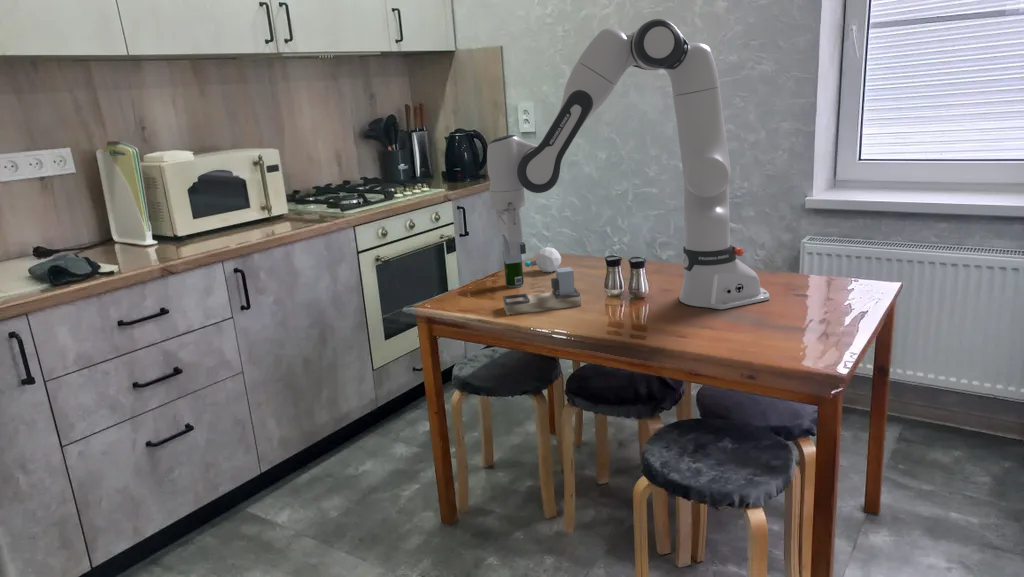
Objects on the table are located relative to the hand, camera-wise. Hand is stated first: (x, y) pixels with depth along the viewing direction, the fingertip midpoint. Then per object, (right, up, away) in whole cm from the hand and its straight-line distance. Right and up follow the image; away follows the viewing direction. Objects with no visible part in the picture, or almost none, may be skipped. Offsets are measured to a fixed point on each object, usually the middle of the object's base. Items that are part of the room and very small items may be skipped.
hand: (512, 252), depth 184 cm
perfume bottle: (+10, -4, +39) cm, 41 cm away
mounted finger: (+15, -11, +5) cm, 19 cm away
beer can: (+1, -9, +27) cm, 28 cm away
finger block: (0, -2, +1) cm, 2 cm away
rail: (+8, -14, +5) cm, 17 cm away
